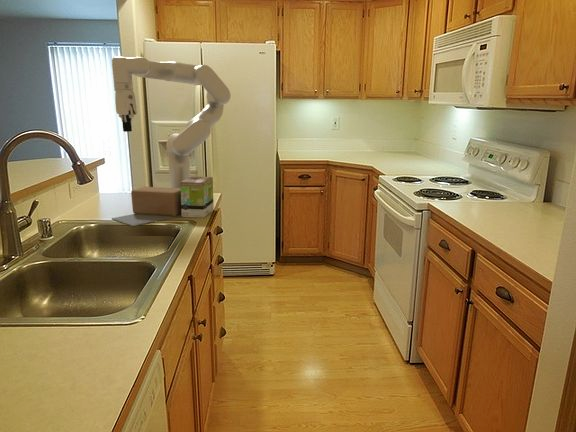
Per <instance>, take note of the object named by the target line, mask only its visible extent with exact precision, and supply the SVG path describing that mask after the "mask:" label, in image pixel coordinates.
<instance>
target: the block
mask: <svg viewBox="0 0 576 432" xmlns="http://www.w3.org/2000/svg"><path fill="white" fill-rule="evenodd" d="M130 194H131V204H132V205H131V206H132V207H131V208H132V214H148V215H163V216H177V215H179V214H181V215H182V213H181V188H170V187H159V186H142V187H138V188H136V189H133V190H131V193H130Z"/></svg>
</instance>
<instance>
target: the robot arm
mask: <svg viewBox="0 0 576 432" xmlns="http://www.w3.org/2000/svg"><path fill="white" fill-rule="evenodd" d="M111 67H112V68H111V69H112V75H113V77H112V78H113V88H114V93H115V94H114V99H115V100H114V101H115V103H114V104H115V111H116V114H117V115H118V117H119V118H120V120H121V122H122V131H123V132H124V133H126V132H127V133H128V132H132V131H133V130H132V127H133V126H132V121H133V118H134V117H135V115H137V113H138V109H137V102H136V96H135V93H134V82H133V75H134V76H135V77H138V78H145V79H153V80H159V81H160V80H161V81H166V82H175V83H183V84H189V85H195V86H202V87H203V88H204V90H205V91H206V105H205V107H203V109H202V110H201V111H200V112H199V113H197V115H195V116H193V118H191V119H190V120H189V121H188V122H187V123H186V124H185V128H184V130H182V131H181V132H176V133H173V134H170V135H169V136H168V138H167V140H166V152H167V159H168V173H169V188H181V184H180V182H181V181H183V180H185V179H188V178H190V177H191V165H190V161H191V160H190V156H189V155H190V154H191V153H192V152H194V151H195V150H196V149H198V147H200V146H201V145H202V144H203V143H204V142H205V141H206V140H208V138H209V137H210V135H211V132H212V128H213V127H214V125H216V124H217V123H218V122H219V121H220V120H221V117H222V116H223V113H224V108H225V107H224V105H226V104H227V103H229V101H230V100H231V96H232V95H231V91H230V89H229V88H228V86H227V85H226V84H225V82H223V80H222V79H221V78H220V76H219V75H218V74H217V73H216V72H215V71H214V70H213V68H212V67H211V66H209V65H208V64H200V65H196V64H191V63H183V62H180V61H179V62H177V61H160V62H159V61H151V60H149V59H147V58H146V57H144V56H136V57H127V56H114V57H112V59H111Z"/></svg>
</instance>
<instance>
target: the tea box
mask: <svg viewBox="0 0 576 432" xmlns="http://www.w3.org/2000/svg"><path fill="white" fill-rule="evenodd" d="M180 184H181V215H182V216H181V217H182V218H203V219H204V218H206V216H207V215H208V214H210V213H211V212H212V211H214V209H215V206H214V205H215V203H214V177H212V176H190V178H188V179H185V180H183V181H181V182H180Z"/></svg>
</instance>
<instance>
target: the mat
mask: <svg viewBox="0 0 576 432" xmlns="http://www.w3.org/2000/svg"><path fill="white" fill-rule="evenodd" d="M179 217H182V213H181V214H179V215H177V216H163V215H148V214H135V213H132V214H126V215H122V216H118V217H112V218H111V220H113V221H116V222H118V223H121V224H124V225H127V226H130V227H137V226H142V225H146V224H151V222H152V223H155V221H157V222H160V220H161V221H166V220H170V219H174V218H179ZM165 219H166V220H165Z"/></svg>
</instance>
